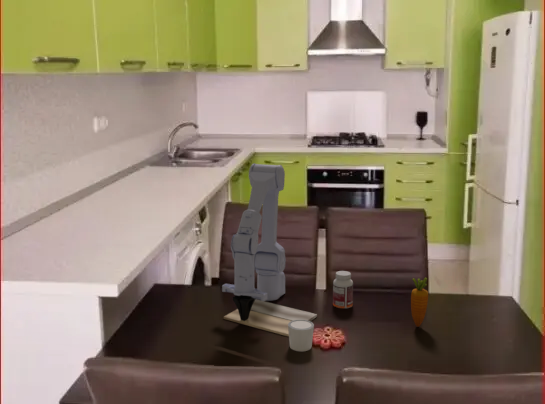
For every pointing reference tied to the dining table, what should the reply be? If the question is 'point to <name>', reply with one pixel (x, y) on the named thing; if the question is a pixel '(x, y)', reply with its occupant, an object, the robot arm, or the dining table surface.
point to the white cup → (300, 335)
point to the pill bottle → (343, 290)
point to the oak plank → (261, 322)
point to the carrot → (419, 301)
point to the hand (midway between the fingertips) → (244, 319)
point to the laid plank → (281, 311)
